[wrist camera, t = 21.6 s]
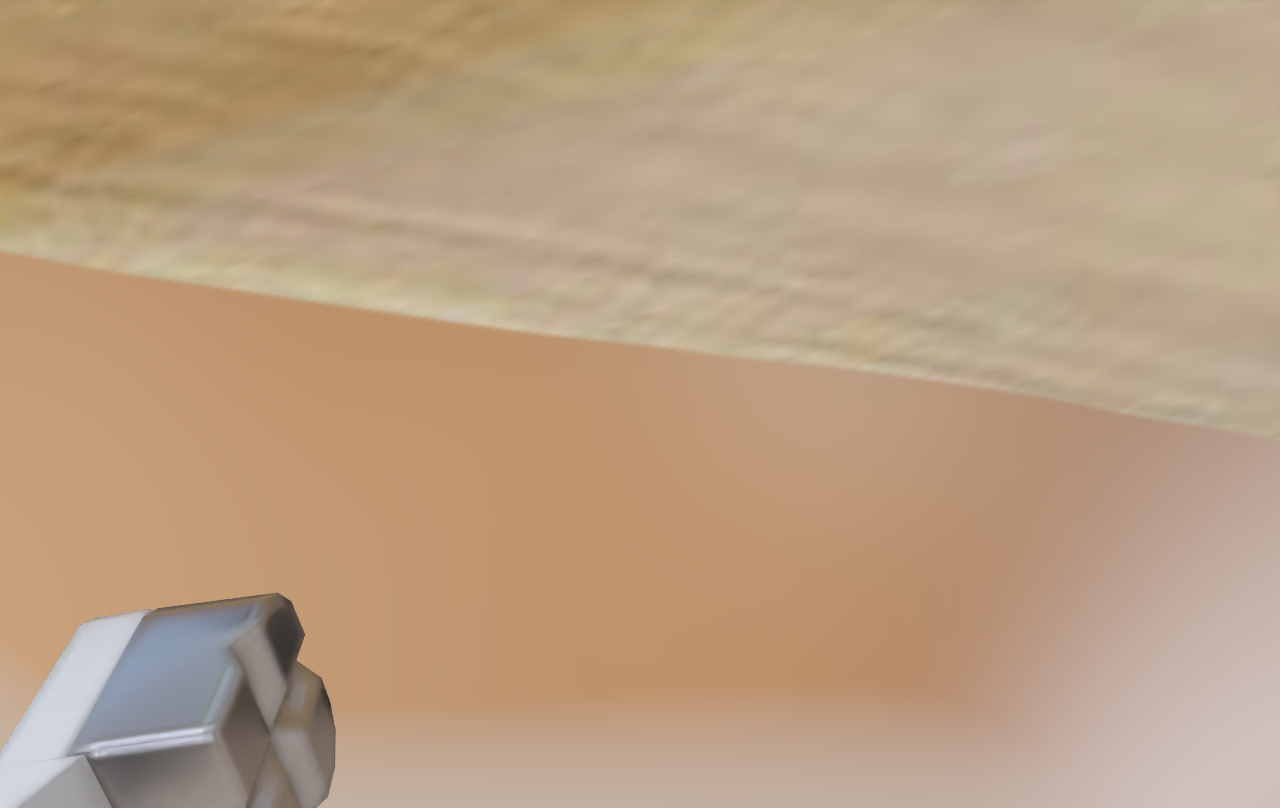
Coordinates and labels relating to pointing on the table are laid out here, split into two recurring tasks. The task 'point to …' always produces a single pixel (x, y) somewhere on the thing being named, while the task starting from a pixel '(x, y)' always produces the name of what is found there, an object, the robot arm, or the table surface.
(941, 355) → the table surface
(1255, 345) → the table surface
